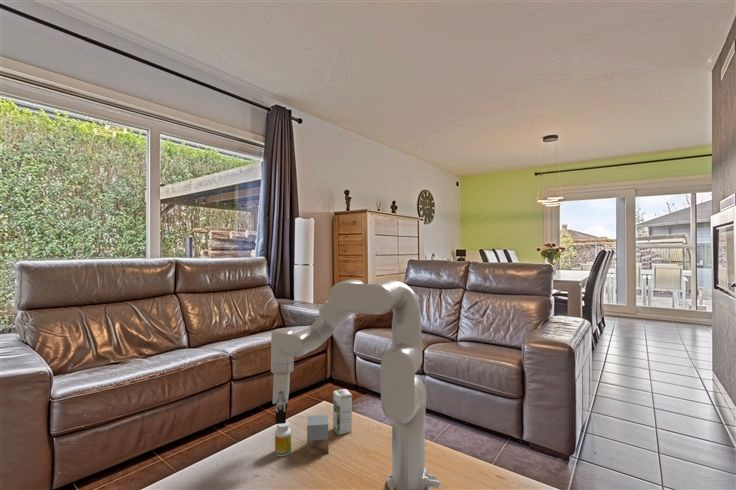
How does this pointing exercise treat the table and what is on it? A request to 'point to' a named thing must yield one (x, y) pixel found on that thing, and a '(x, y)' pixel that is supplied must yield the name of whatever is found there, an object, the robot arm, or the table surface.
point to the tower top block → (317, 427)
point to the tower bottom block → (318, 447)
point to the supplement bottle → (283, 439)
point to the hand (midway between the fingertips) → (281, 416)
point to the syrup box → (342, 411)
